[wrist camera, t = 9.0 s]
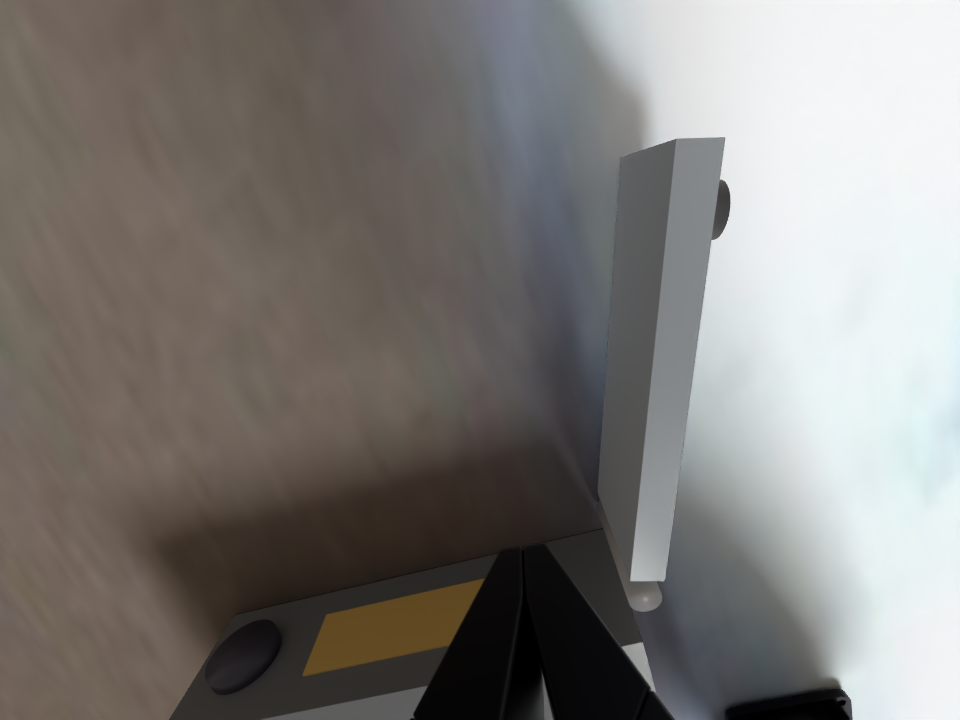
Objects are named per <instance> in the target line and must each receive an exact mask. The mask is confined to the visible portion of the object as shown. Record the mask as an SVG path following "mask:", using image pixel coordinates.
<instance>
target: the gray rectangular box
mask: <svg viewBox="0 0 960 720" xmlns="http://www.w3.org/2000/svg"><path fill="white" fill-rule="evenodd" d="M545 544H546V545H547V546H548V547H549V549H550V550H551V551H552V553H553V554H554V555H555V557H556V558H557V559H558V561H559V562H560V564H561V565H562V566H563V568H564V569H565V570H566V572H567V573H568V574H569V576H570V577H571V579H572V580H573V581H574V583H575V584H576V585H577V587H578V588H579V590H580V591H581V592H582V594H583V595H584V596H585V598H586V599H587V600H588V602H589V603H590V605H591V606H592V607H593V609H594V610H595V611H596V613H597V614H598V615H599V617H600V618H601V620H602V621H603V622H604V624H605V625H606V626H607V628H608V629H609V631H610V632H611V633H612V635H613V636H614V637H615V639H616V640H617V641H618V643H619V644H620V646H621V647H622V648H623V650H624V651H625V652H626V654H627V655H628V656H629V658H630V659H631V661H632V662H633V663H634V665H635V666H636V667H637V669H638V670H639V671H640V673H641V674H642V676H643V677H644V678H645V680H646V681H647V682H648V684H649V685H650V687H651V690H652V691H654V692H655V693H656V690H655V686H654V683H653V679H652V675H651V671H650V668H649V664H648V660H647V656H646V652H645V649H644V645H643V641H642V638H641V636H640V633H639V630H638V627H637V624H636V621H635V618H634V615H633V612H632V609H631V607H630V605H629V602H628V599H627V597H626V594H625V591H624V588H623V585H622V582H621V579H620V576H619V573H618V570H617V567H616V564H615V562H614V559H613V556H612V553H611V550H610V547H609V544H608V541H607V538H606V535H605V532H604V529H600V530H596V531H592V532H587V533H583V534H579V535H575V536H570V537H566V538H562V539H558V540H553V541H549V542H545ZM523 549H524V547H523ZM497 555H498V554H494V555H489V556H485V557H481V558H476V559H472V560H468V561H464V562H459V563H455V564H451V565H447V566H442V567H438V568H434V569H430V570H425V571H421V572H417V573H412V574H408V575H404V576H400V577H395V578H391V579H387V580H383V581H378V582H374V583H370V584H366V585H361V586H357V587H353V588H348V589H344V590H340V591H336V592H331V593H327V594H323V595H319V596H314V597H310V598H306V599H301V600H297V601H293V602H289V603H284V604H280V605H276V606H272V607H267V608H263V609H259V610H255V611H250V612H246V613H242V614H237V615H234V616H233V618H232V619H231V621H230V622H229V624H228V626H227V627H226V629H225V631H224V632H223V634H222V635H221V637H220V639H219V640H218V642H217V643H216V645H215V647H214V648H213V650H212V651H211V653H210V655H209V656H208V658H207V660H206V661H205V663H204V664H203V666H202V668H201V669H200V671H199V672H198V674H197V676H196V677H195V679H194V680H193V682H192V684H191V685H190V687H189V689H188V690H187V692H186V693H185V695H184V697H183V698H182V700H181V701H180V703H179V705H178V706H177V708H176V709H175V711H174V713H173V714H172V716H171V717H170V719H169V720H410V719H411V718H414V717H413V713H414V711H415V709H416V707H417V705H418V703H419V702H420V700H421V698H422V696H423V694H424V692H425V690H426V688H427V686H428V685H429V683H430V681H431V679H432V677H433V675H434V673H435V671H436V670H437V668H438V666H439V664H440V662H441V660H442V658H443V656H444V655H445V653H446V651H447V649H448V647H449V645H450V643H451V641H452V639H453V638H454V636H455V634H456V632H457V630H458V628H459V626H460V624H461V623H462V621H463V619H464V617H465V615H466V613H467V611H468V609H469V607H470V606H471V604H472V602H473V600H474V598H475V596H476V594H477V592H478V591H479V589H480V587H481V585H482V583H483V581H484V579H485V577H486V575H487V574H488V572H489V570H490V568H491V566H492V564H493V562H494V560H495V559H496V557H497ZM543 686H544V720H553V717H552V713H551V709H550V705H549V701H548V696H547V692H546V687H545V683H544V679H543Z"/></svg>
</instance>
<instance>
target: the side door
mask: <svg viewBox="0 0 960 720" xmlns="http://www.w3.org/2000/svg"><path fill="white" fill-rule="evenodd" d="M724 144H725V137H720V138H687V139H674V140H671V141H668V142H665V143H662V144H659V145H657V146H654V147H651V148H648V149H645V150H642V151H639V152H636V153H633V154H630V155H627V156H624V157H621V158H620V171H619V186H618V200H617V215H616V229H615V244H614V258H613V272H612V287H611V301H610V316H609V330H608V345H607V359H606V374H605V388H604V403H603V417H602V432H601V446H600V461H599V475H598V490H597V492H598V495H599V498H600V500H599V501H598V503H597V505H596V509H597V512H598V515H599V518H600V521H601V524H602V527H603V529H604V532H605V535H606V538H607V541H608V544H609V547H610V550H611V553H612V556H613V559H614V562H615V564H616V567H617V570H618V573H619V576H620V579H621V582H622V585H623V588H624V591H625V594H626V597H627V599H628V602H629V605H630V606H631V607H632V608H633V609H634V610H636V611H640V612H648V611H651V610H654V609H656V608H657V607H658V606H659V605H660V604H661V602H662V598H663V597H662V593H661V591H660V589H659V586H658V584H657V582H656V581H665V577H666V569H667V562H668V555H669V547H670V540H671V533H672V525H673V518H674V511H675V503H676V496H677V488H678V481H679V474H680V466H681V459H682V452H683V444H684V437H685V430H686V422H687V415H688V408H689V400H690V393H691V386H692V378H693V371H694V364H695V356H696V349H697V342H698V334H699V327H700V320H701V312H702V305H703V298H704V290H705V283H706V276H707V268H708V261H709V254H710V246H711V240H715V239H717V238H718V237H719V236H720V235H721V234H722V232H723V230H724V228H725V226H726V224H727V220H728V217H729V211H730V192H729V188H728V186H727V184H726V182H725V181H723V180H720V173H721V166H722V158H723V151H724Z"/></svg>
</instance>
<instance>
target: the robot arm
mask: <svg viewBox="0 0 960 720" xmlns="http://www.w3.org/2000/svg"><path fill="white" fill-rule="evenodd" d="M543 679H544V683H545V687H546V692H547V696H548V701H549V705H550V709H551V713H552V717H553V720H675V719H674V717H673V716H672V715H671V713H670V712H669V711H668V709H667V708H666V707H665V705H664V704H663V702H662V701H661V700H660V698H659V697H658V696H657V694H656V693H655V692H654V691H652V690H651V687H650V685H649V684H648V682H647V681H646V680H645V678H644V677H643V676H642V674H641V673H640V671H639V670H638V669H637V667H636V666H635V665H634V663H633V662H632V661H631V659H630V658H629V656H628V655H627V654H626V652H625V651H624V650H623V648H622V647H621V646H620V644H619V643H618V641H617V640H616V639H615V637H614V636H613V635H612V633H611V632H610V631H609V629H608V628H607V626H606V625H605V624H604V622H603V621H602V620H601V618H600V617H599V615H598V614H597V613H596V611H595V610H594V609H593V607H592V606H591V605H590V603H589V602H588V600H587V599H586V598H585V596H584V595H583V594H582V592H581V591H580V590H579V588H578V587H577V585H576V584H575V583H574V581H573V580H572V579H571V577H570V576H569V574H568V573H567V572H566V570H565V569H564V568H563V566H562V565H561V564H560V562H559V561H558V559H557V558H556V557H555V555H554V554H553V553H552V551H551V550H550V549H549V547H548V546H547V545H546V544H545V543H537V544H530V545H526V546H524V549H523V548H522V547H520V546H516V547H510V548H503V549H501V550H500V551H499V553H498V555H497V557H496V559H495V560H494V562H493V564H492V566H491V568H490V570H489V572H488V574H487V575H486V577H485V579H484V581H483V583H482V585H481V587H480V589H479V591H478V592H477V594H476V596H475V598H474V600H473V602H472V604H471V606H470V607H469V609H468V611H467V613H466V615H465V617H464V619H463V621H462V623H461V624H460V626H459V628H458V630H457V632H456V634H455V636H454V638H453V639H452V641H451V643H450V645H449V647H448V649H447V651H446V653H445V655H444V656H443V658H442V660H441V662H440V664H439V666H438V668H437V670H436V671H435V673H434V675H433V677H432V679H431V681H430V683H429V685H428V686H427V688H426V690H425V692H424V694H423V696H422V698H421V700H420V702H419V703H418V705H417V707H416V709H415V711H414V713H413V717H414V718H411V719H410V720H544V686H543ZM725 720H852V706H851V700H850V698H849V697H848V695H847V694H846V693H845V691H843V690H840V689H835V690H830V691H824V692H819V693H813V694H808V695H802V696H796V697H791V698H785V699H780V700H774V701H769V702H763V703H758V704H752V705H747V706H741V707H736V708H731V709H729V710H727V711H726V712H725Z"/></svg>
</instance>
